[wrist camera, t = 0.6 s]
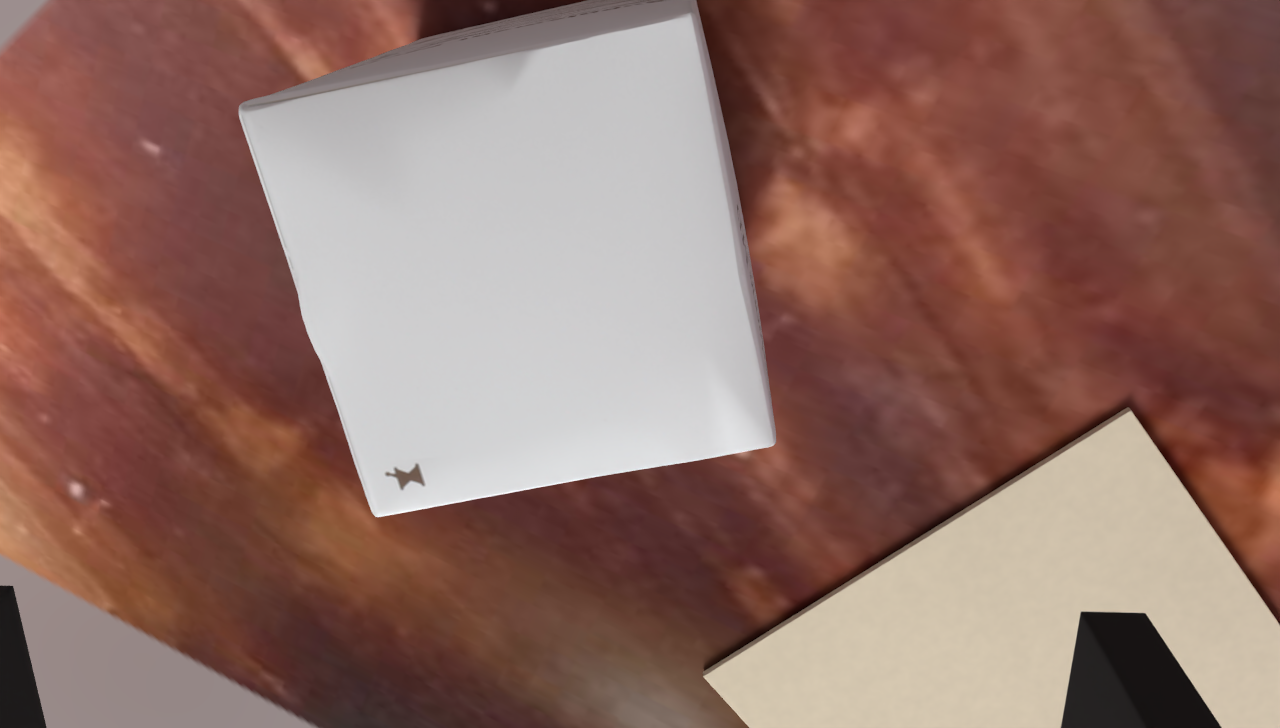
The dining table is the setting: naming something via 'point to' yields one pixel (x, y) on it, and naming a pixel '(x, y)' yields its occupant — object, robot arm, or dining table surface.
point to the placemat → (1020, 607)
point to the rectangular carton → (521, 253)
